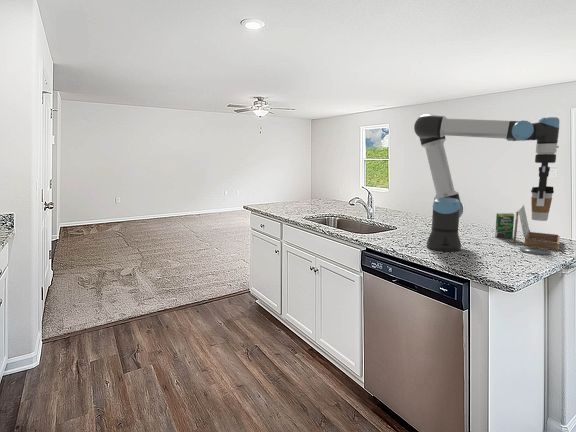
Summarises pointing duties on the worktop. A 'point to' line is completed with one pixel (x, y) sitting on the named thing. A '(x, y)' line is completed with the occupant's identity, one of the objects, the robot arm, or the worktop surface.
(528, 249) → the disc
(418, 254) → the worktop surface
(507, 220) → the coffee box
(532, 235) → the frame
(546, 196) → the coffee cup
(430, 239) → the robot arm
